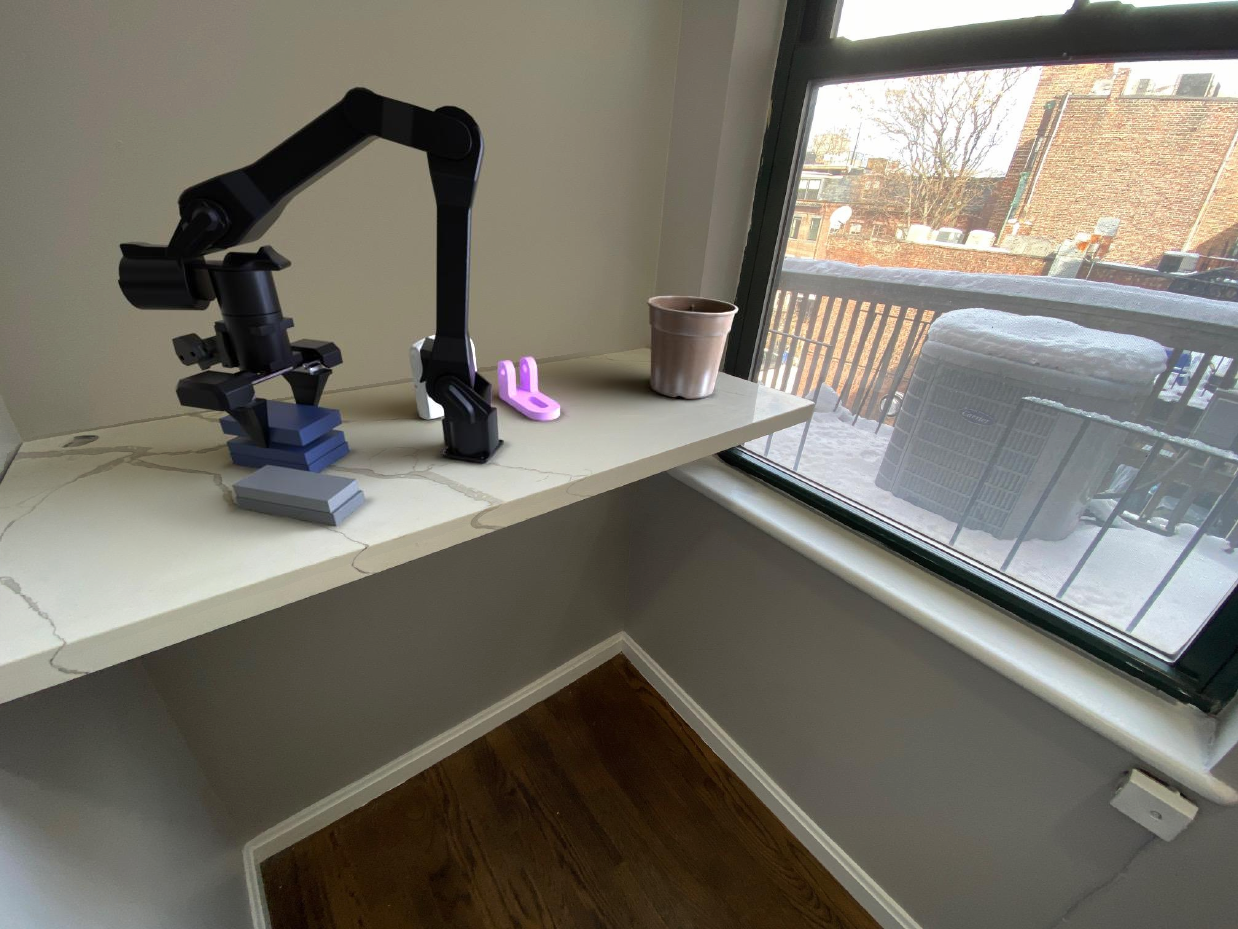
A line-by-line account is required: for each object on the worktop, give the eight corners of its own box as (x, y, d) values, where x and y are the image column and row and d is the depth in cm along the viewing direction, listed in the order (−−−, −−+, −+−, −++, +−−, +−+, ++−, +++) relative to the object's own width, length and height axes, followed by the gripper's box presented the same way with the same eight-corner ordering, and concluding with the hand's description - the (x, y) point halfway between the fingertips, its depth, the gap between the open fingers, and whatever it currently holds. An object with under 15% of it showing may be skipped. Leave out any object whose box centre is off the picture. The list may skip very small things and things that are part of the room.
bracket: (499, 397, 89) (497, 358, 86) (527, 391, 92) (526, 354, 89) (536, 423, 80) (535, 381, 77) (566, 416, 84) (566, 375, 80)
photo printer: (428, 422, 78) (417, 343, 72) (413, 414, 81) (401, 337, 75) (483, 405, 85) (478, 332, 79) (468, 398, 88) (461, 326, 82)
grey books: (365, 501, 59) (361, 479, 57) (336, 525, 54) (330, 502, 53) (274, 486, 60) (267, 463, 59) (239, 508, 56) (230, 485, 55)
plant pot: (675, 369, 109) (684, 291, 101) (740, 391, 99) (755, 306, 91) (623, 385, 98) (628, 299, 90) (689, 411, 88) (702, 317, 81)
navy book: (342, 423, 67) (339, 409, 66) (303, 446, 61) (298, 431, 60) (269, 413, 68) (265, 399, 67) (223, 434, 62) (218, 419, 61)
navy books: (350, 452, 69) (345, 430, 67) (311, 477, 62) (305, 454, 61) (277, 440, 70) (271, 419, 69) (233, 464, 64) (225, 441, 63)
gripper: (257, 291, 67) (287, 402, 74) (104, 321, 51) (162, 459, 58) (332, 298, 65) (356, 411, 73) (199, 332, 49) (247, 473, 56)
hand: (287, 435), depth 65 cm, fingers closed on navy book, 7 cm apart
